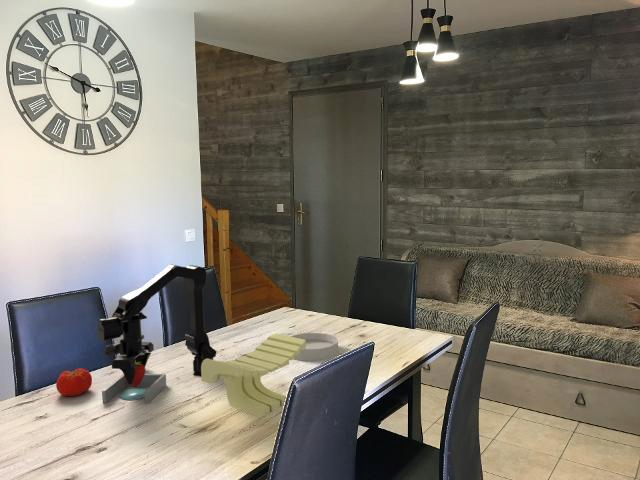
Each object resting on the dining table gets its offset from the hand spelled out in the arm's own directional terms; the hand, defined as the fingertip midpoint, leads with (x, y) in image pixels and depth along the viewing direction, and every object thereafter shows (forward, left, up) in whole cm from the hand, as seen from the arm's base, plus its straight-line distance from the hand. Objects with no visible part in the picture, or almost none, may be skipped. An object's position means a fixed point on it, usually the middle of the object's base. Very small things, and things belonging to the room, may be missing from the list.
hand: (135, 379), depth 171 cm
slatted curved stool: (-42, +5, -5) cm, 43 cm away
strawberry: (0, 0, -3) cm, 3 cm away
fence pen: (0, 0, -5) cm, 5 cm away
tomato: (+21, 0, -5) cm, 22 cm away
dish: (-54, -44, -5) cm, 70 cm away
